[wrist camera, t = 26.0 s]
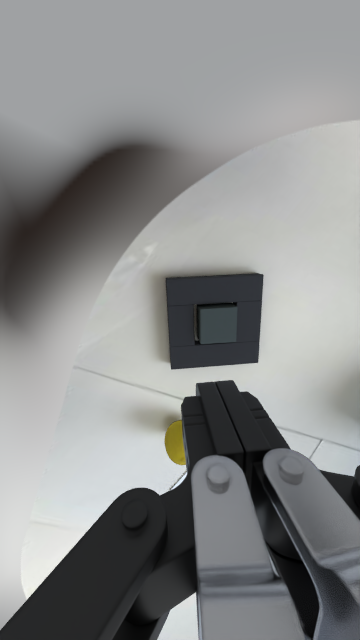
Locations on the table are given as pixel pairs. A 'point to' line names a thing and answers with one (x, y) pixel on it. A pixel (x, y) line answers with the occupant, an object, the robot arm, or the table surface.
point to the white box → (179, 481)
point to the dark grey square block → (216, 323)
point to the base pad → (206, 291)
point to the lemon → (175, 443)
